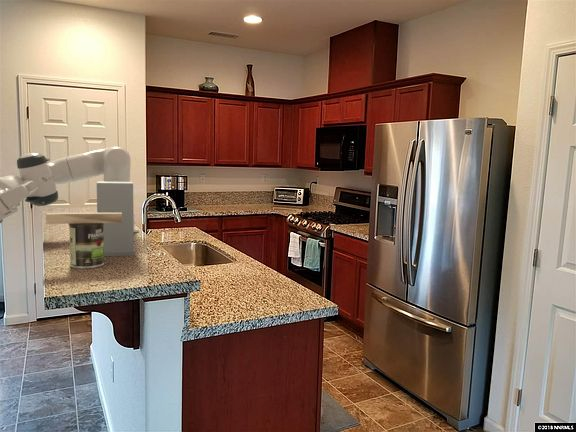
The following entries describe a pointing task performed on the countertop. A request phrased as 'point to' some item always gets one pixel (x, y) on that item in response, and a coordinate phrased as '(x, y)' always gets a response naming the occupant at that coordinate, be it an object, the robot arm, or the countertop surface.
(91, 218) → the rail
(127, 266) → the countertop surface
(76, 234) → the coffee can
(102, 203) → the upright
